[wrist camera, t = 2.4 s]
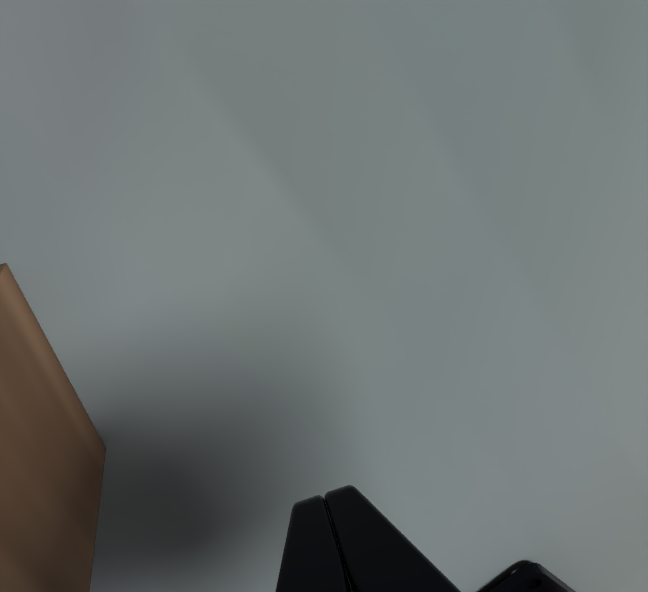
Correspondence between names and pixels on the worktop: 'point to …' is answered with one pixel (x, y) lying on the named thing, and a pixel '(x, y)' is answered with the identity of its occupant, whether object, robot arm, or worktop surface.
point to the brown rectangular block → (43, 460)
